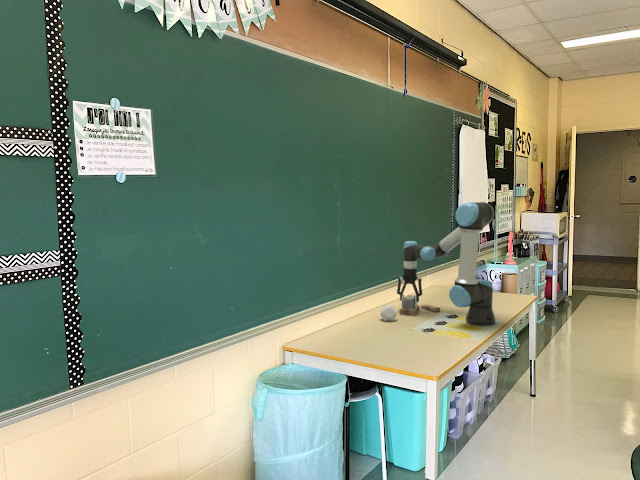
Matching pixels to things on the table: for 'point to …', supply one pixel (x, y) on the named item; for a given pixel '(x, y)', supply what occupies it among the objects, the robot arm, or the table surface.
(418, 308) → the plinth
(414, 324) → the table surface
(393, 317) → the die
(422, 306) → the felt eraser
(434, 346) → the table surface
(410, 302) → the block
